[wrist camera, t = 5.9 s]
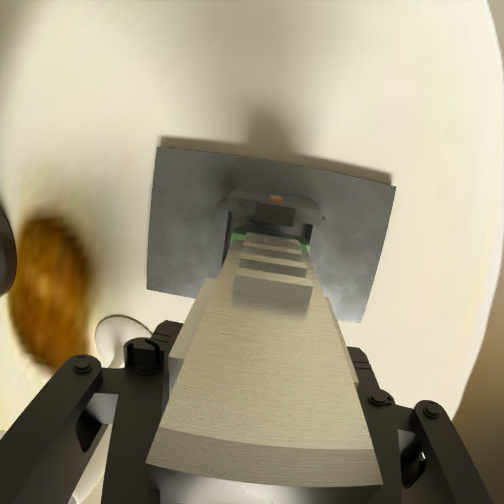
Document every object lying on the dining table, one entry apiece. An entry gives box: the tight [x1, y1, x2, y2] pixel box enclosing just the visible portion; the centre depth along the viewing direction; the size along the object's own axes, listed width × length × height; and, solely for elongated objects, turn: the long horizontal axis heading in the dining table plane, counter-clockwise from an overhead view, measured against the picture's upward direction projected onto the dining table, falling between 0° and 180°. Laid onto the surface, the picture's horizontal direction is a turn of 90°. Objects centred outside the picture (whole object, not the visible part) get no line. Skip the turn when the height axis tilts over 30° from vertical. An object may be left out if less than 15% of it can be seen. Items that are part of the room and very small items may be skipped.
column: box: [145, 226, 383, 504], centre depth 14 cm, size 5×5×19 cm
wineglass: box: [68, 317, 152, 504], centre depth 25 cm, size 9×9×21 cm
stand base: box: [147, 147, 396, 323], centre depth 26 cm, size 22×14×10 cm, turn 81°
